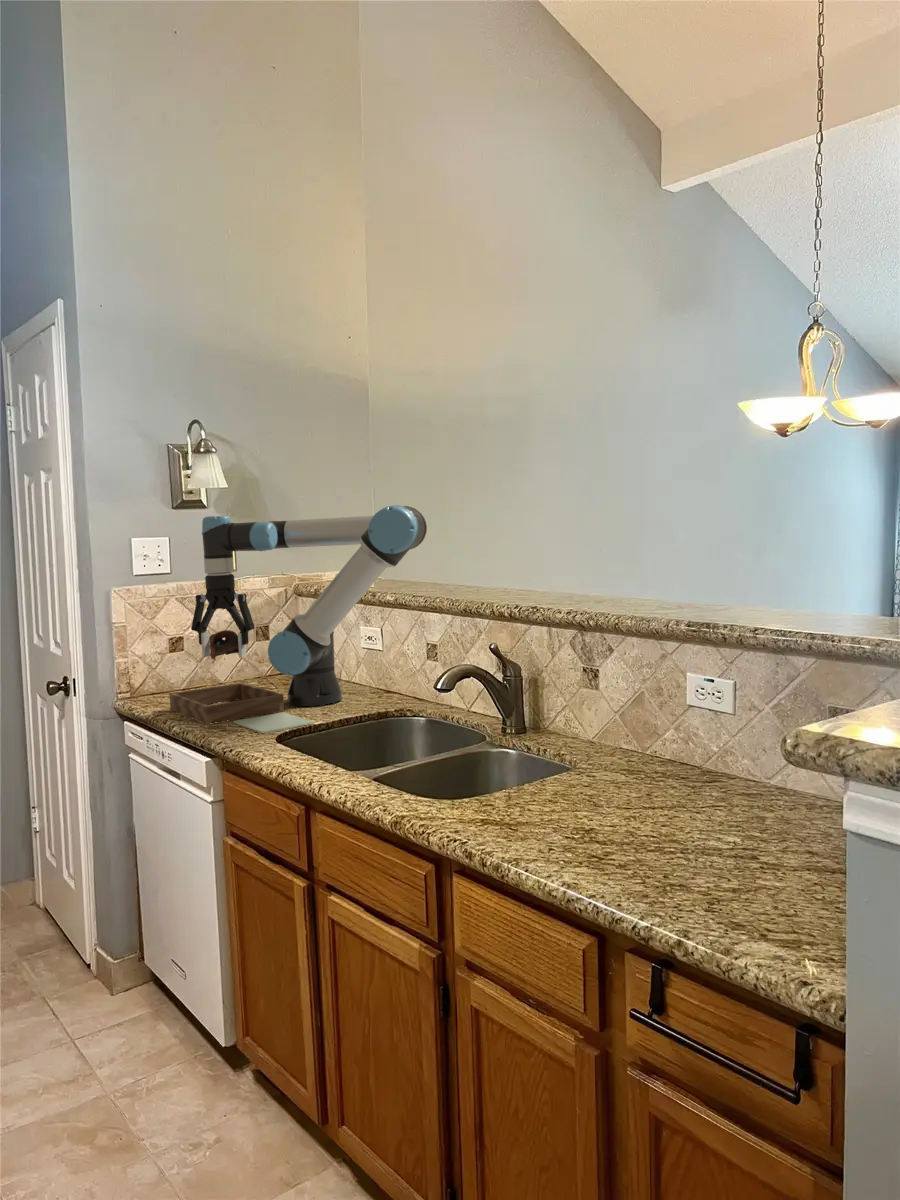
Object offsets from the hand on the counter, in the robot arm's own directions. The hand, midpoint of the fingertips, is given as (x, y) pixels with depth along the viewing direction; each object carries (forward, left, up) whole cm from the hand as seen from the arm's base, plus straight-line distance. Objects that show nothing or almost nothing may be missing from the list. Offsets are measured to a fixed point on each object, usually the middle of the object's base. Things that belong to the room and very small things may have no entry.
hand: (224, 656), depth 241 cm
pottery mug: (+1, -1, -1) cm, 2 cm away
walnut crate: (0, 0, -15) cm, 15 cm away
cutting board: (-19, +12, -15) cm, 27 cm away
